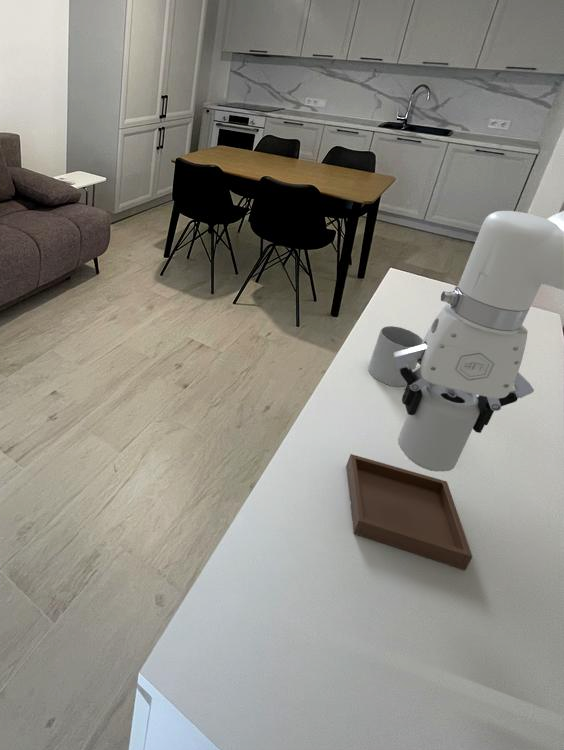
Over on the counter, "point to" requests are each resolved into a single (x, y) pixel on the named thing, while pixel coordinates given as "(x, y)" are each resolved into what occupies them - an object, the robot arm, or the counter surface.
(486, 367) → the robot arm
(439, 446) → the can
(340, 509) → the counter surface
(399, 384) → the cup
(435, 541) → the tray
